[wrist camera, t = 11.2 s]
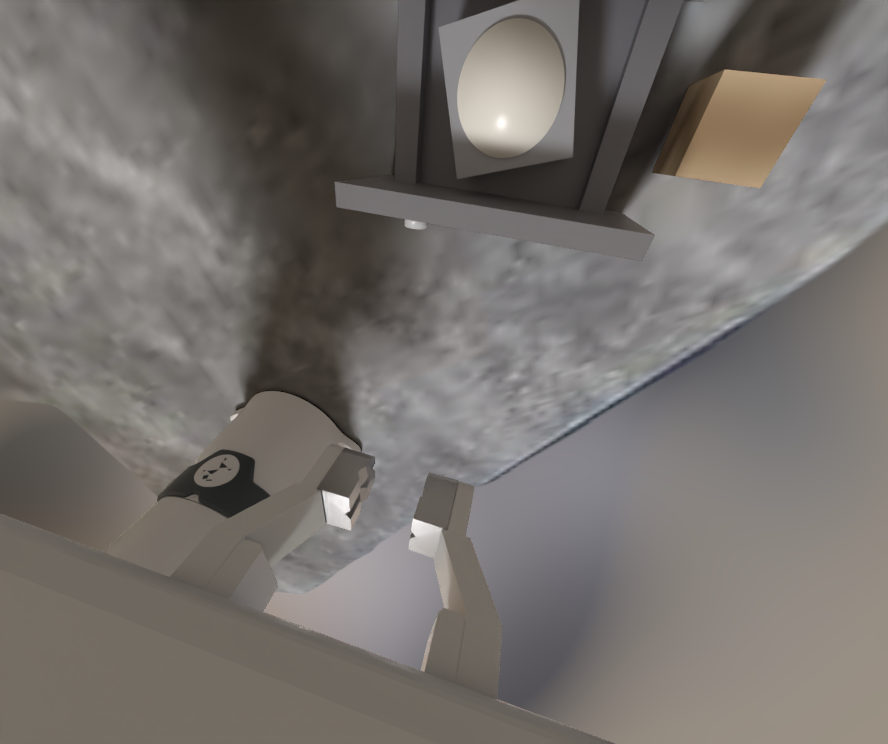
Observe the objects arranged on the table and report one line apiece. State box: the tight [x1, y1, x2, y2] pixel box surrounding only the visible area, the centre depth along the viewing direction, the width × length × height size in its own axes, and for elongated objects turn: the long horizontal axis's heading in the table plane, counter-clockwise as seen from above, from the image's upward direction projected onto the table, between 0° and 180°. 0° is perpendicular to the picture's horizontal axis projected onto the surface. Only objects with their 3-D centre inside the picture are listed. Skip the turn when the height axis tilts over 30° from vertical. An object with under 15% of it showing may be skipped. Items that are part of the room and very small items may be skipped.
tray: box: [335, 0, 684, 261], centre depth 15 cm, size 15×16×8 cm
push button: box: [438, 0, 579, 179], centre depth 16 cm, size 6×6×3 cm
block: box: [652, 69, 826, 188], centre depth 16 cm, size 4×4×4 cm
